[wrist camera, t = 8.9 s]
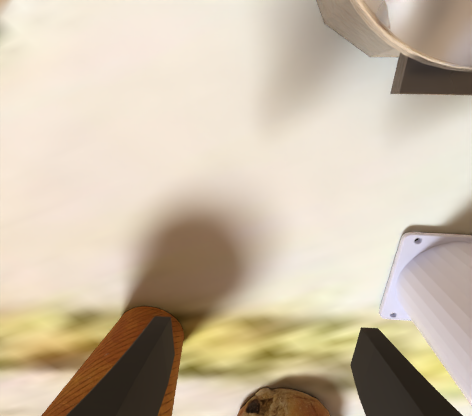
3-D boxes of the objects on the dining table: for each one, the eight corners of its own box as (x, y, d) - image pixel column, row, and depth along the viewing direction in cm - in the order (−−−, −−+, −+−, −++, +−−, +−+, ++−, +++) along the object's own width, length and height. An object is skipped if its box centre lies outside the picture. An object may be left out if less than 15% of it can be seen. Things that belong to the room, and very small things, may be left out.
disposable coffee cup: (184, 285, 22) (115, 465, 11) (211, 361, 26) (179, 555, 15) (86, 298, 24) (-60, 471, 13) (125, 368, 27) (36, 551, 16)
